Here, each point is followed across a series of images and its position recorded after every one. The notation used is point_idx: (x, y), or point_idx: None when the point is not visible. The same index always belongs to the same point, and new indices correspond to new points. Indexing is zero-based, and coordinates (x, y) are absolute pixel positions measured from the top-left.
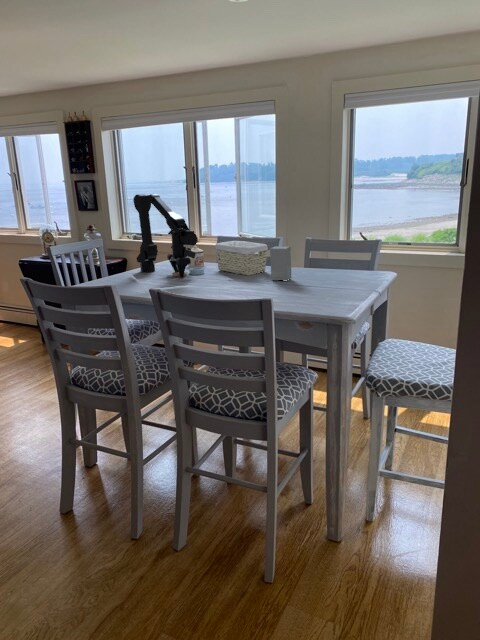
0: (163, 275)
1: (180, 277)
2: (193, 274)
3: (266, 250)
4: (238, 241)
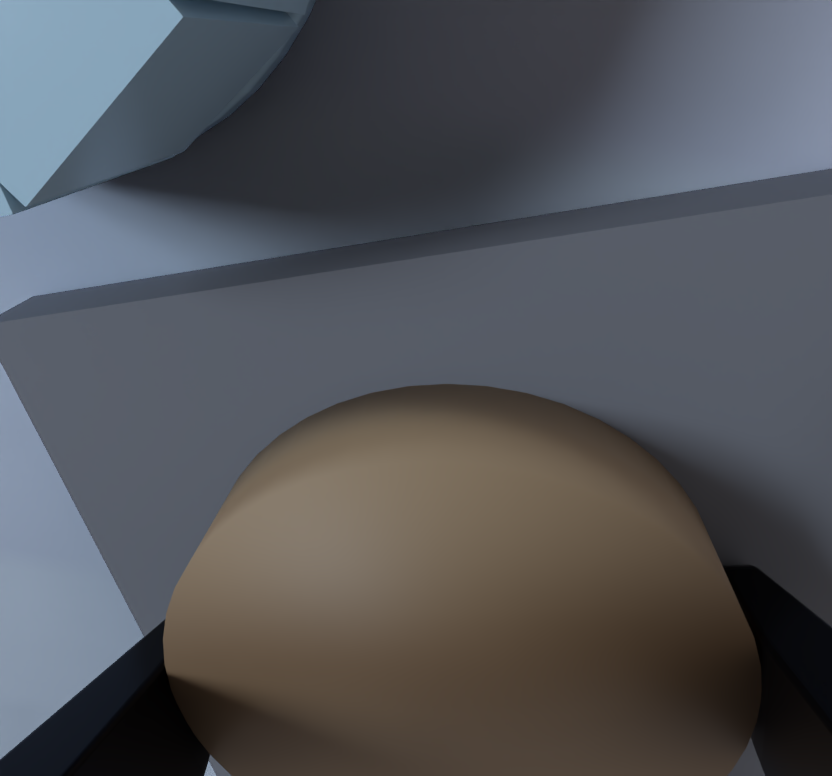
0: None
1: None
2: (284, 24)
3: None
4: None
